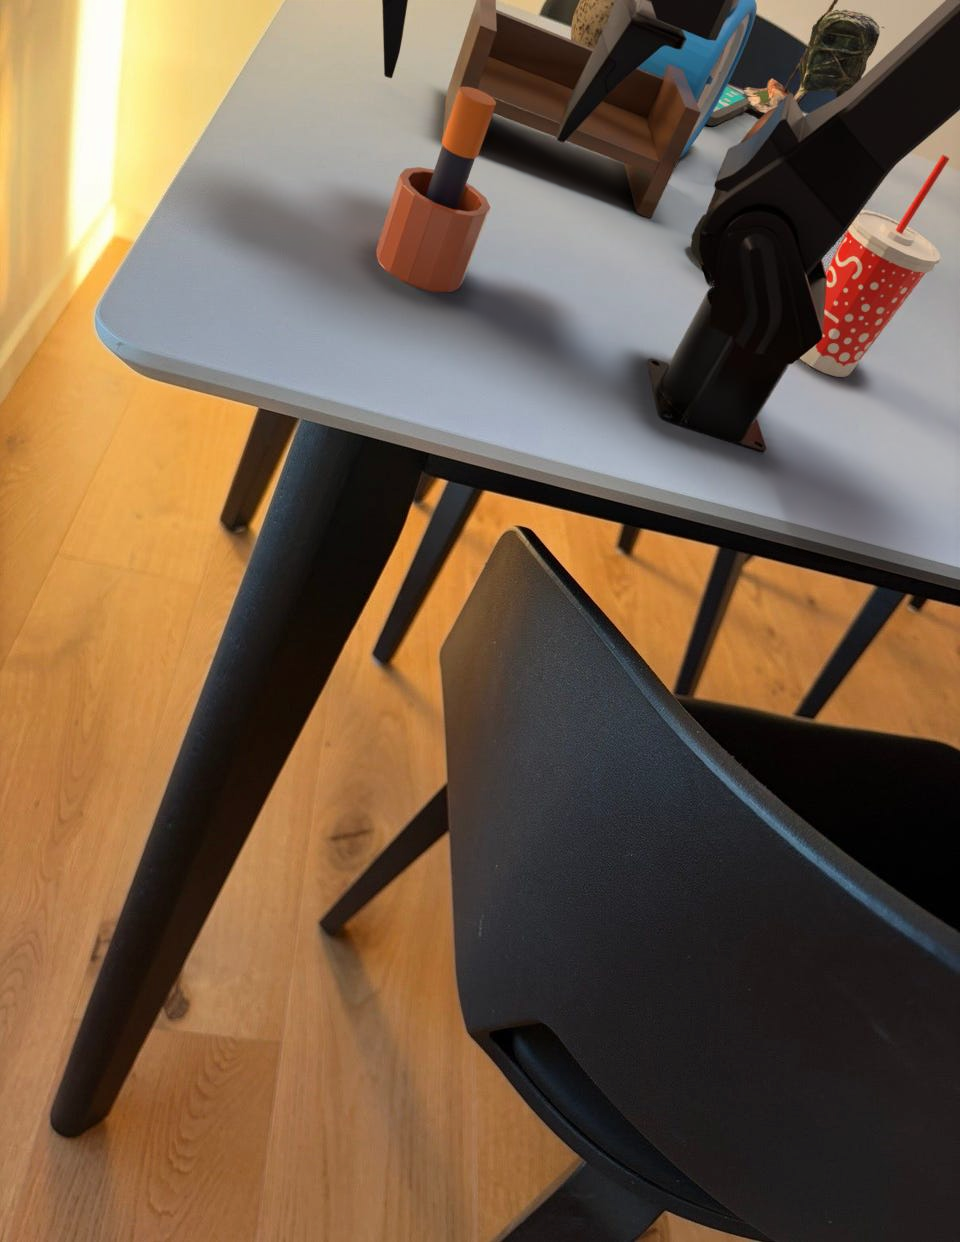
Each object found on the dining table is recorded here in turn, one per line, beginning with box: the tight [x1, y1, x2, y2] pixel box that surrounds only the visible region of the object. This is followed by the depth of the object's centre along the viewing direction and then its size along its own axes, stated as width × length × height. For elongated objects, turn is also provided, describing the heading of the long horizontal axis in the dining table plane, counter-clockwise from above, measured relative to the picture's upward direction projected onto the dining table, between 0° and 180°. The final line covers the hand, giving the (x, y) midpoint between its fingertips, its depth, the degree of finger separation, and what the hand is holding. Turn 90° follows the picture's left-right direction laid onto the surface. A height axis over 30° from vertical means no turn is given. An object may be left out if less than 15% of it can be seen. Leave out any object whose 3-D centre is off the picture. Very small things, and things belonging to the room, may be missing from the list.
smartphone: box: [705, 84, 751, 127], centre depth 112 cm, size 9×1×15 cm
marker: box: [426, 87, 496, 210], centre depth 59 cm, size 2×2×10 cm
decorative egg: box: [570, 0, 615, 49], centre depth 103 cm, size 7×7×10 cm
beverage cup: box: [799, 154, 950, 378], centre depth 70 cm, size 6×6×14 cm
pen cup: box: [375, 166, 491, 293], centre depth 61 cm, size 5×5×5 cm
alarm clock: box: [639, 0, 758, 158], centre depth 91 cm, size 13×6×15 cm, turn 156°
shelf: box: [441, 0, 701, 219], centre depth 82 cm, size 10×16×8 cm, turn 90°
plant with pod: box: [742, 0, 886, 114], centre depth 112 cm, size 8×11×20 cm
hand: (475, 107), depth 56 cm, fingers open, 9 cm apart
